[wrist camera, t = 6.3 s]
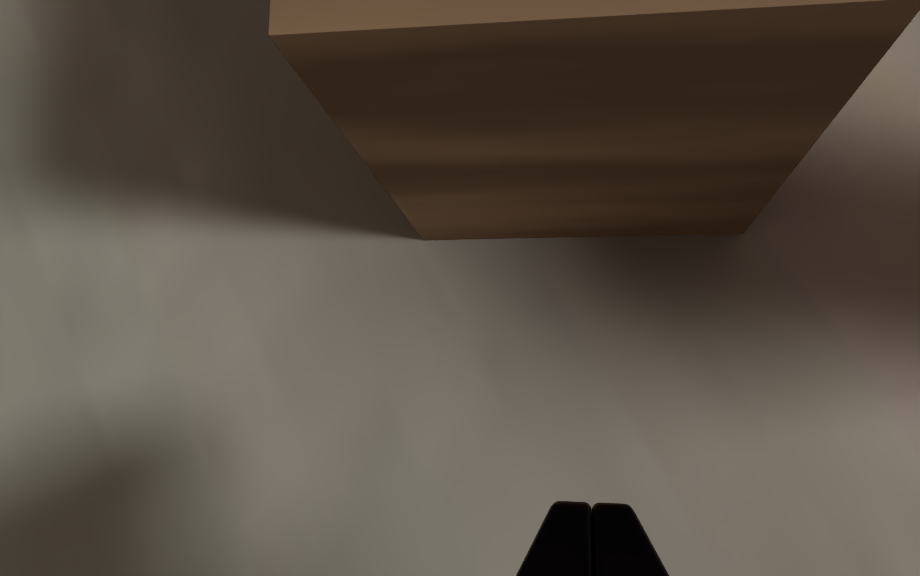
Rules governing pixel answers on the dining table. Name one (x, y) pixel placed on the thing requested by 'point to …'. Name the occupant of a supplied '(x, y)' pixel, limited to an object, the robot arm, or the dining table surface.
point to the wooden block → (583, 104)
